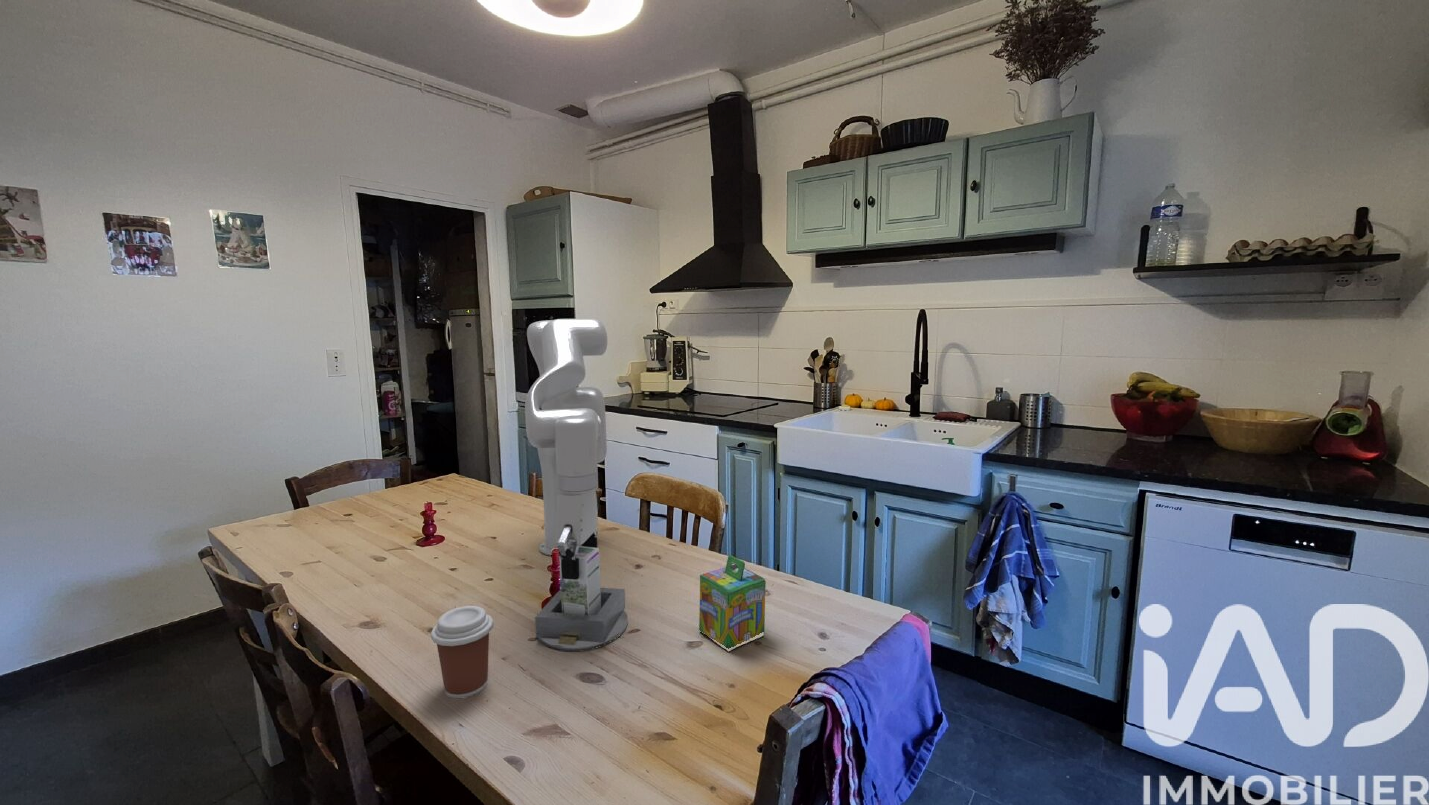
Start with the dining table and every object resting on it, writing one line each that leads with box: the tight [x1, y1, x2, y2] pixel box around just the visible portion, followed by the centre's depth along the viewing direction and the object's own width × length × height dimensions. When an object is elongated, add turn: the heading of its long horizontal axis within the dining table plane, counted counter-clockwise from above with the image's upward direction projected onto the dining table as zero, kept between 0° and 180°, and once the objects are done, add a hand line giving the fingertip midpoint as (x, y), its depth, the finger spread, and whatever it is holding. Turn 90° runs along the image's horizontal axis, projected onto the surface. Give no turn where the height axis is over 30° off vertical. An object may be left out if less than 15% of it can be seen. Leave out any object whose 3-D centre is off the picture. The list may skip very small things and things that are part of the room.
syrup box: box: [558, 546, 601, 615], centre depth 108 cm, size 6×6×14 cm
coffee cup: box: [430, 605, 494, 699], centre depth 90 cm, size 9×9×12 cm
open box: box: [534, 587, 628, 652], centre depth 108 cm, size 17×17×5 cm
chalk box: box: [698, 555, 767, 649], centre depth 105 cm, size 9×9×15 cm
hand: (580, 566), depth 108 cm, fingers open, 9 cm apart
